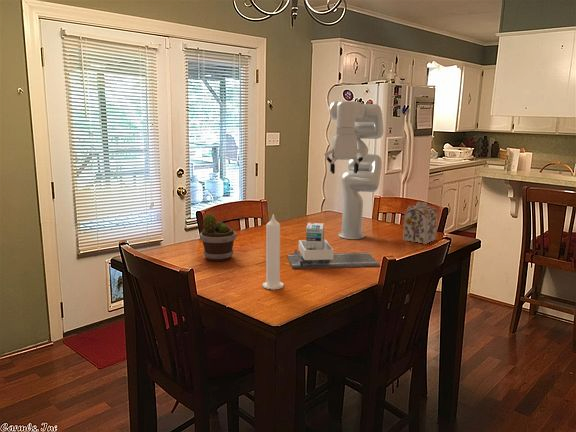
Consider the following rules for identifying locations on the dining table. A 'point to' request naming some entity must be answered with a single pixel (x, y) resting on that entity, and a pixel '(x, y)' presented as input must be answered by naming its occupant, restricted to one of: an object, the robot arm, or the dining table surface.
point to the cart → (316, 252)
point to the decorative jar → (420, 223)
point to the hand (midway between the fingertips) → (344, 173)
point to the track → (333, 261)
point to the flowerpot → (217, 239)
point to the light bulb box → (315, 236)
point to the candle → (273, 255)
